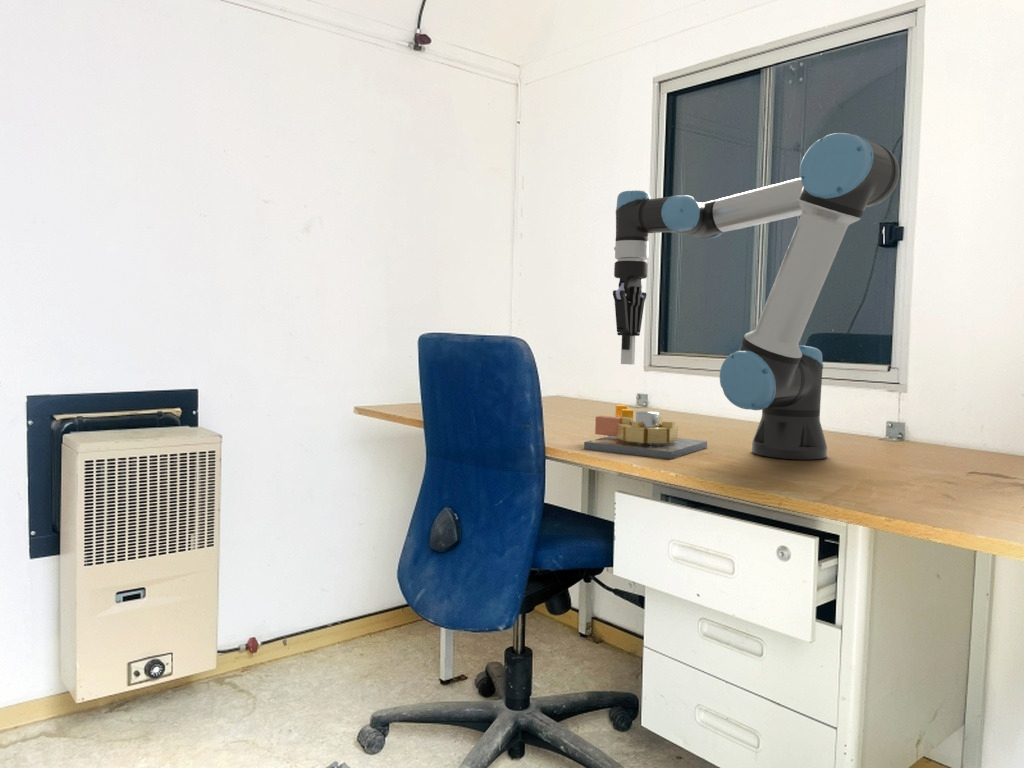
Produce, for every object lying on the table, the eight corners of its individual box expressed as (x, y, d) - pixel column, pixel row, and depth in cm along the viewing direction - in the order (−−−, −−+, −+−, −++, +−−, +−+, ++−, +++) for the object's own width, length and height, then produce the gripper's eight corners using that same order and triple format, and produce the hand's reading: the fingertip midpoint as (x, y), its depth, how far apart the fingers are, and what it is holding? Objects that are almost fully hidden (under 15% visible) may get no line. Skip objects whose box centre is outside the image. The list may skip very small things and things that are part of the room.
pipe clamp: (608, 429, 207) (609, 405, 207) (625, 430, 207) (625, 405, 207) (614, 436, 195) (615, 410, 195) (632, 436, 195) (633, 410, 195)
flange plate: (707, 447, 179) (708, 412, 178) (670, 459, 162) (672, 419, 162) (625, 438, 190) (626, 405, 189) (584, 448, 173) (585, 411, 173)
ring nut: (684, 438, 178) (685, 419, 177) (661, 444, 167) (662, 424, 167) (610, 430, 188) (611, 413, 187) (584, 436, 178) (585, 417, 177)
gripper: (628, 263, 191) (625, 362, 193) (603, 259, 180) (599, 364, 182) (658, 262, 187) (654, 364, 189) (633, 258, 176) (629, 365, 178)
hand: (627, 364), depth 185 cm, fingers closed
